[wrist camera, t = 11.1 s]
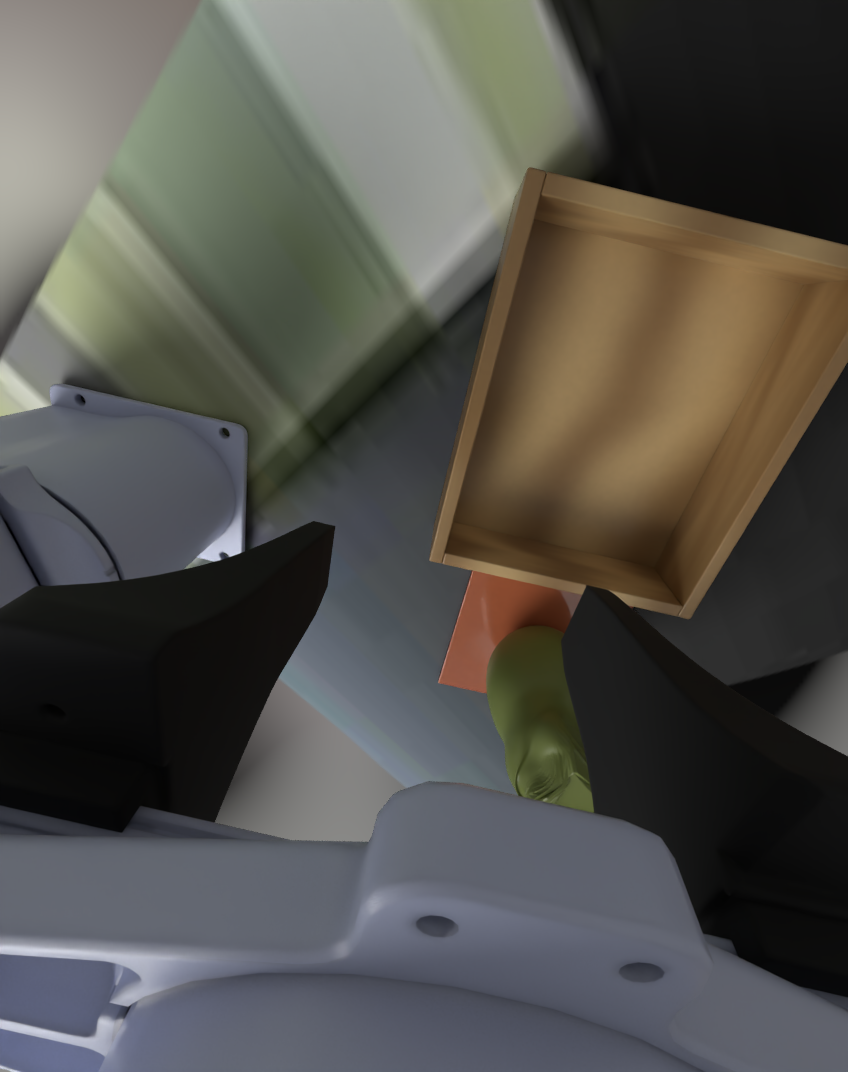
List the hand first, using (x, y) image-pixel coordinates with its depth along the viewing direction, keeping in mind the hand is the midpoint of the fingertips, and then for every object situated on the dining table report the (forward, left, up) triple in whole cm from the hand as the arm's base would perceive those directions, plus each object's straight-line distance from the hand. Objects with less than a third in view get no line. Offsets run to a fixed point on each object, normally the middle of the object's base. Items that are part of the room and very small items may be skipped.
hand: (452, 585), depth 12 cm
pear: (+7, -9, -10) cm, 15 cm away
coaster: (+7, -9, -10) cm, 15 cm away
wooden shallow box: (+6, +4, -10) cm, 12 cm away
